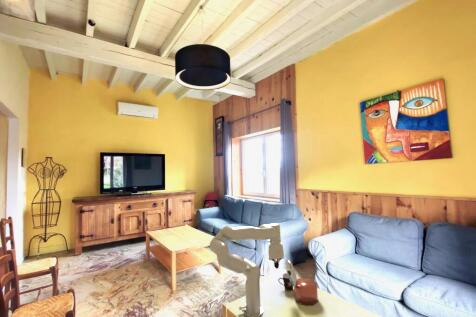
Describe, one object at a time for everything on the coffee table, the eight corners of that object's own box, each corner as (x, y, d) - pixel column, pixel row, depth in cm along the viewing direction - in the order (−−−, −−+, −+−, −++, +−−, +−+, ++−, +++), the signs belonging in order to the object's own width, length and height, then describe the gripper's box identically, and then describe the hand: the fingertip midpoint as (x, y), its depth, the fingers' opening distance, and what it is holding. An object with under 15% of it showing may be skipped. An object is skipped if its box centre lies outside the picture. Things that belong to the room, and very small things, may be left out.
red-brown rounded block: (300, 306, 161) (299, 290, 161) (291, 294, 177) (290, 279, 177) (322, 303, 163) (321, 287, 164) (311, 291, 179) (310, 277, 180)
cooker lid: (298, 290, 161) (294, 291, 160) (289, 278, 178) (286, 279, 177) (294, 265, 161) (290, 266, 161) (285, 256, 178) (282, 257, 177)
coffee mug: (295, 286, 188) (294, 273, 188) (293, 292, 180) (293, 278, 180) (280, 284, 192) (279, 272, 192) (278, 290, 184) (277, 277, 184)
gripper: (266, 244, 164) (267, 271, 163) (287, 242, 166) (288, 268, 165) (263, 240, 171) (265, 266, 170) (283, 238, 173) (284, 264, 173)
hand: (276, 267), depth 168 cm, fingers closed
